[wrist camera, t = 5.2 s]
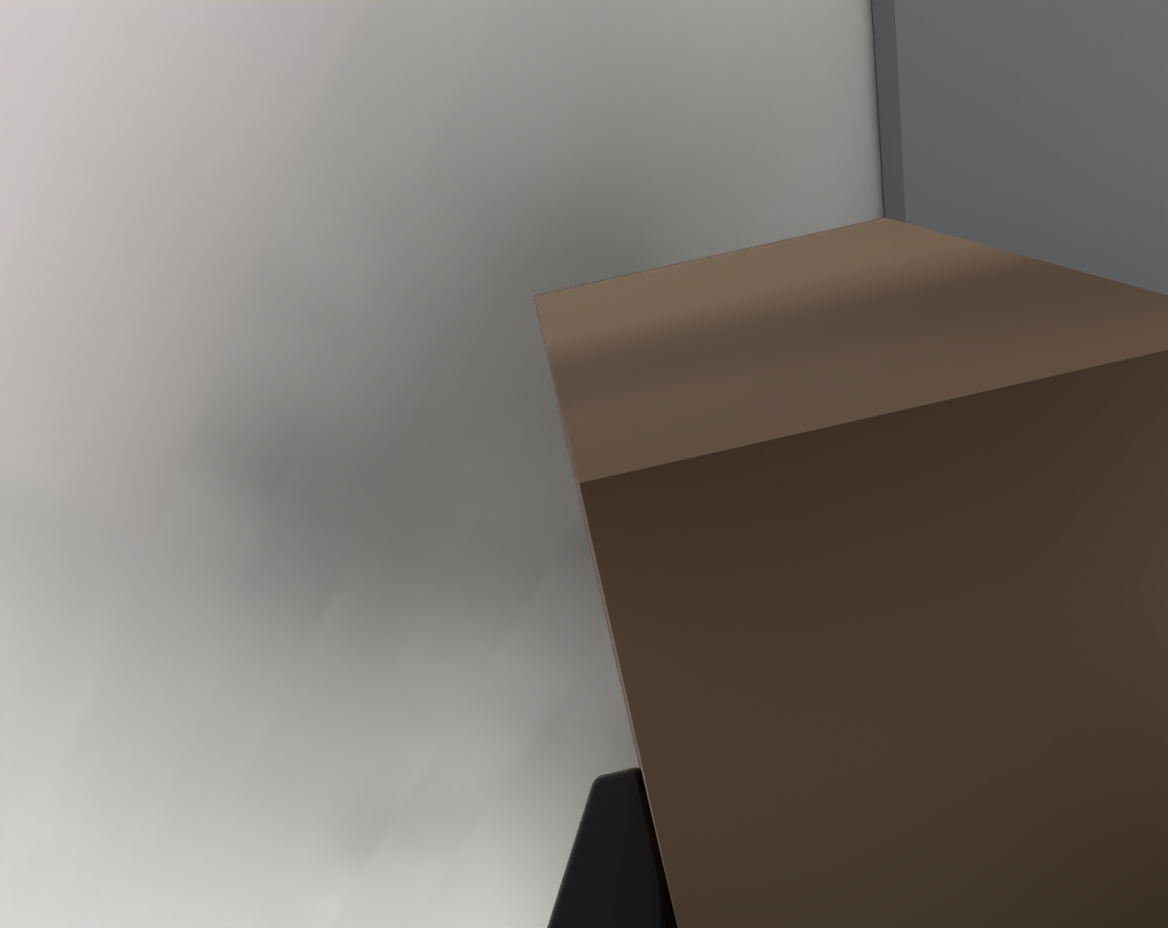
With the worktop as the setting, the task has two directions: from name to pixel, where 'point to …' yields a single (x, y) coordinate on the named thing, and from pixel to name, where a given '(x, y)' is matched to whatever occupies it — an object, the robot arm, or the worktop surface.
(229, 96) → the worktop surface
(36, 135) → the worktop surface
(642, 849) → the robot arm
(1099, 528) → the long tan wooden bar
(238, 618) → the worktop surface
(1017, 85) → the tool mat
